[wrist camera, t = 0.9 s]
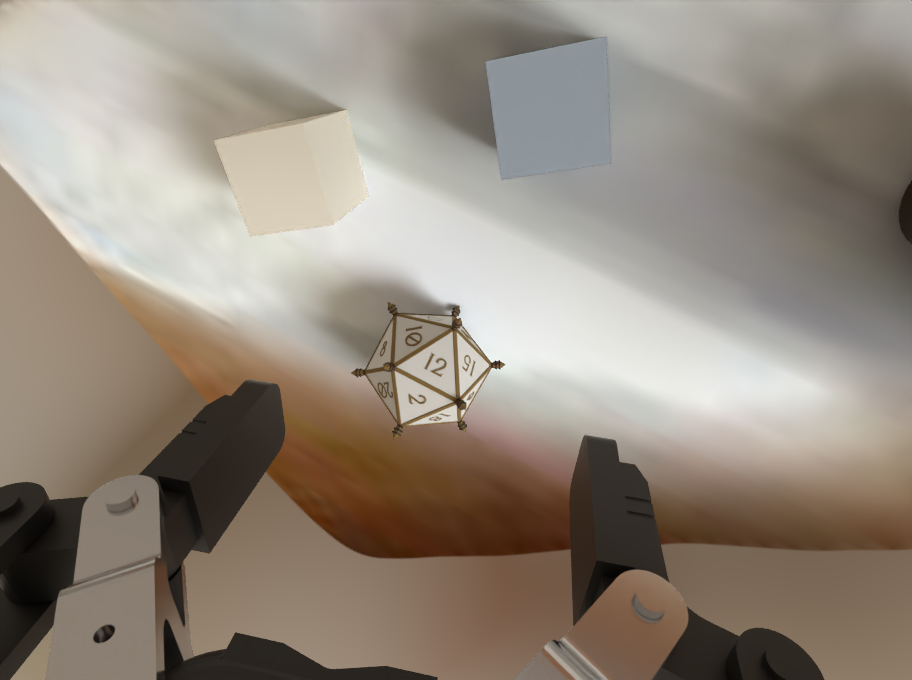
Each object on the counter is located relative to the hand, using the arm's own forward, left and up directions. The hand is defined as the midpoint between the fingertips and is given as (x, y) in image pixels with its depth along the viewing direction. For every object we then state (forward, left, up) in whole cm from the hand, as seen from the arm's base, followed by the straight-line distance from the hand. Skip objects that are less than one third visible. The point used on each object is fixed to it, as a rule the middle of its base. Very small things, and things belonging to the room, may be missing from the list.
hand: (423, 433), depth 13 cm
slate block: (-4, -6, -21) cm, 22 cm away
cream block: (+10, -5, -21) cm, 24 cm away
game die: (+5, +8, -21) cm, 23 cm away
